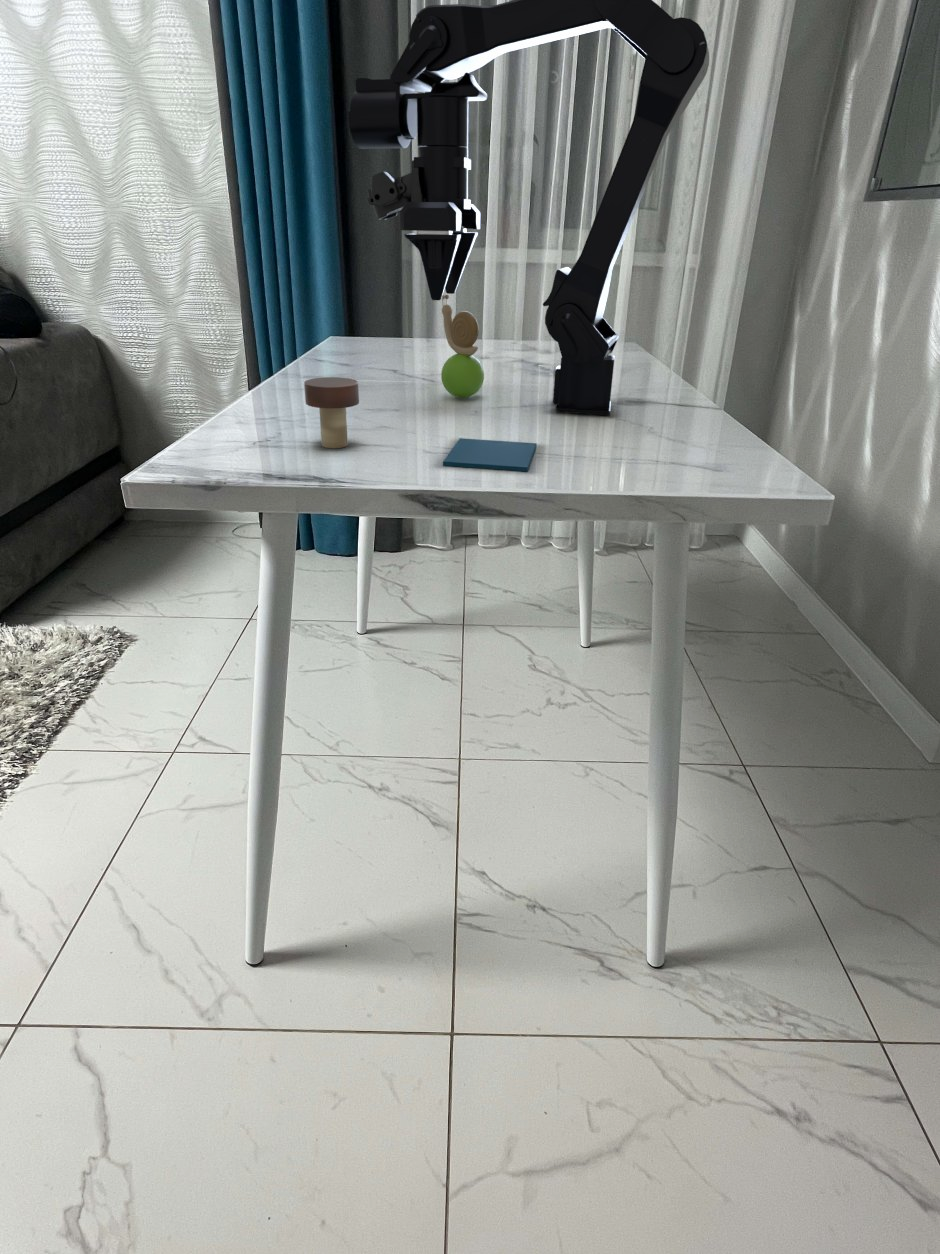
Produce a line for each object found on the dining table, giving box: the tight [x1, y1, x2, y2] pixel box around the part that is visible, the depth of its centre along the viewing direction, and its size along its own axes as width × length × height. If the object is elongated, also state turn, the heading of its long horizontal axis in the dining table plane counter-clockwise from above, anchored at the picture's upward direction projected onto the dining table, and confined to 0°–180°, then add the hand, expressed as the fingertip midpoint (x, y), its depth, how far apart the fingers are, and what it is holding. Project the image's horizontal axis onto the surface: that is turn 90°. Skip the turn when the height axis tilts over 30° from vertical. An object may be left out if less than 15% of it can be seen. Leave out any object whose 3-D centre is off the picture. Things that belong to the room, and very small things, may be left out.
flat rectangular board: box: [442, 437, 538, 472], centre depth 79 cm, size 8×9×1 cm
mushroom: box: [303, 376, 360, 449], centre depth 80 cm, size 5×5×6 cm
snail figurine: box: [440, 294, 485, 399], centre depth 101 cm, size 5×6×12 cm
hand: (443, 296), depth 98 cm, fingers open, 9 cm apart
